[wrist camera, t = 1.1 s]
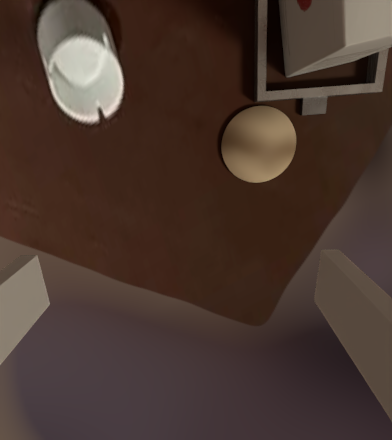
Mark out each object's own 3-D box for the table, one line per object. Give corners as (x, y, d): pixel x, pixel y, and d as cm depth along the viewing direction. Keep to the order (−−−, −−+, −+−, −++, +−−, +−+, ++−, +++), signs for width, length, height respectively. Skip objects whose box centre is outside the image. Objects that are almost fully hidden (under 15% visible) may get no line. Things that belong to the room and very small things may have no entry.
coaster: (219, 109, 35) (220, 108, 35) (296, 103, 35) (298, 102, 34) (222, 183, 39) (222, 184, 38) (292, 179, 38) (294, 180, 38)
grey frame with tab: (255, -68, 29) (258, -81, 27) (396, -82, 29) (410, -97, 27) (254, 118, 35) (257, 118, 34) (369, 110, 35) (379, 109, 33)
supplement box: (275, -7, 31) (339, -115, 17) (355, -27, 30) (491, -158, 16) (283, 79, 34) (342, 48, 20) (356, 62, 33) (471, 18, 19)
